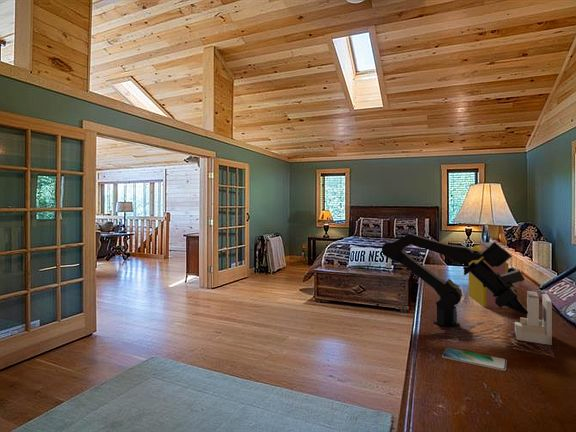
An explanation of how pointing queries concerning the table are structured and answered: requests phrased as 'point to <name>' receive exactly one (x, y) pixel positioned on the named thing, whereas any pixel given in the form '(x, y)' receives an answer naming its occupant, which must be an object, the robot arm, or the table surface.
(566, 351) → the table surface
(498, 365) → the smartphone
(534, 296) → the off-white rectangular block
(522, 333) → the cream l-shaped bracket
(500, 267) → the yellow tall block
